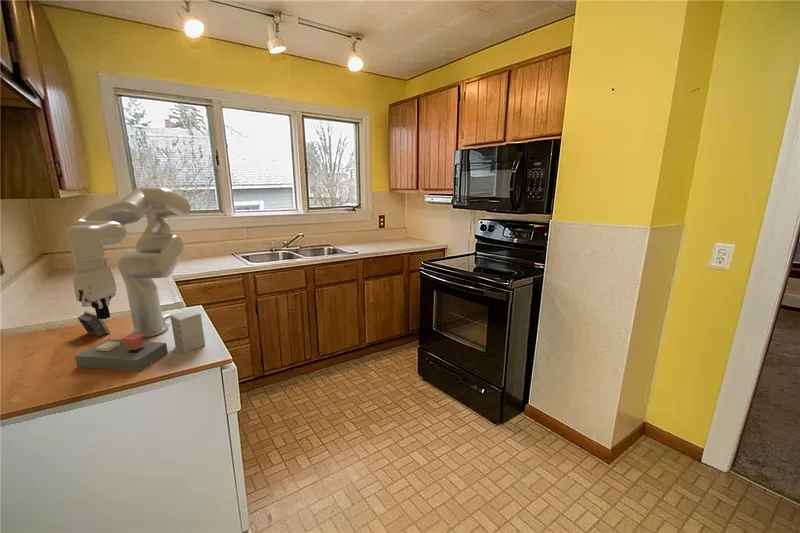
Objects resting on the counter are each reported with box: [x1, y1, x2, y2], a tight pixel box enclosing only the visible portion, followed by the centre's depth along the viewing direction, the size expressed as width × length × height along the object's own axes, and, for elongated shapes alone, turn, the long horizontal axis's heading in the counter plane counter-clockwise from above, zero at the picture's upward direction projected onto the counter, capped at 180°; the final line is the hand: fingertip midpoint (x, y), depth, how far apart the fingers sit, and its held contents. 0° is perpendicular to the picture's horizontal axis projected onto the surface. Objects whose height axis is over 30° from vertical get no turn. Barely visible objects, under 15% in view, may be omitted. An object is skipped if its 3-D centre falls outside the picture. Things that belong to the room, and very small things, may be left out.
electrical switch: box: [77, 310, 111, 338], centre depth 135 cm, size 9×5×9 cm, turn 65°
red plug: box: [120, 333, 145, 350], centre depth 116 cm, size 4×4×4 cm
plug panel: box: [74, 338, 169, 373], centre depth 118 cm, size 12×22×4 cm, turn 84°
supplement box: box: [170, 308, 206, 353], centre depth 126 cm, size 7×7×13 cm
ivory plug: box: [96, 341, 120, 351], centre depth 118 cm, size 4×4×4 cm
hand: (104, 317), depth 116 cm, fingers closed
